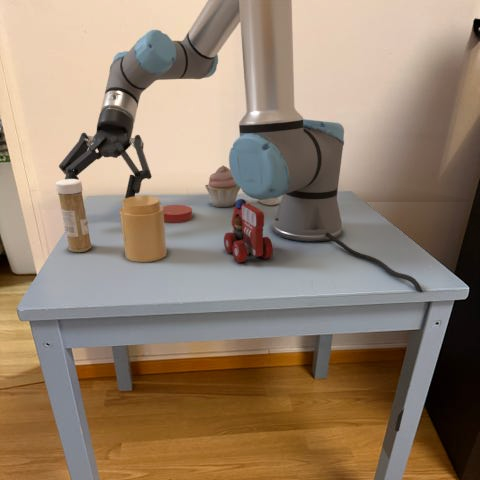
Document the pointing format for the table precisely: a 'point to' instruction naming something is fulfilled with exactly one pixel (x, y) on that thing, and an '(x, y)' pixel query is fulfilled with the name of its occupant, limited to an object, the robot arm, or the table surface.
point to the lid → (177, 213)
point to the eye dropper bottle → (269, 201)
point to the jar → (143, 229)
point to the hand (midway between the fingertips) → (97, 203)
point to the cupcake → (222, 188)
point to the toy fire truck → (247, 233)
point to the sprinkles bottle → (74, 214)
